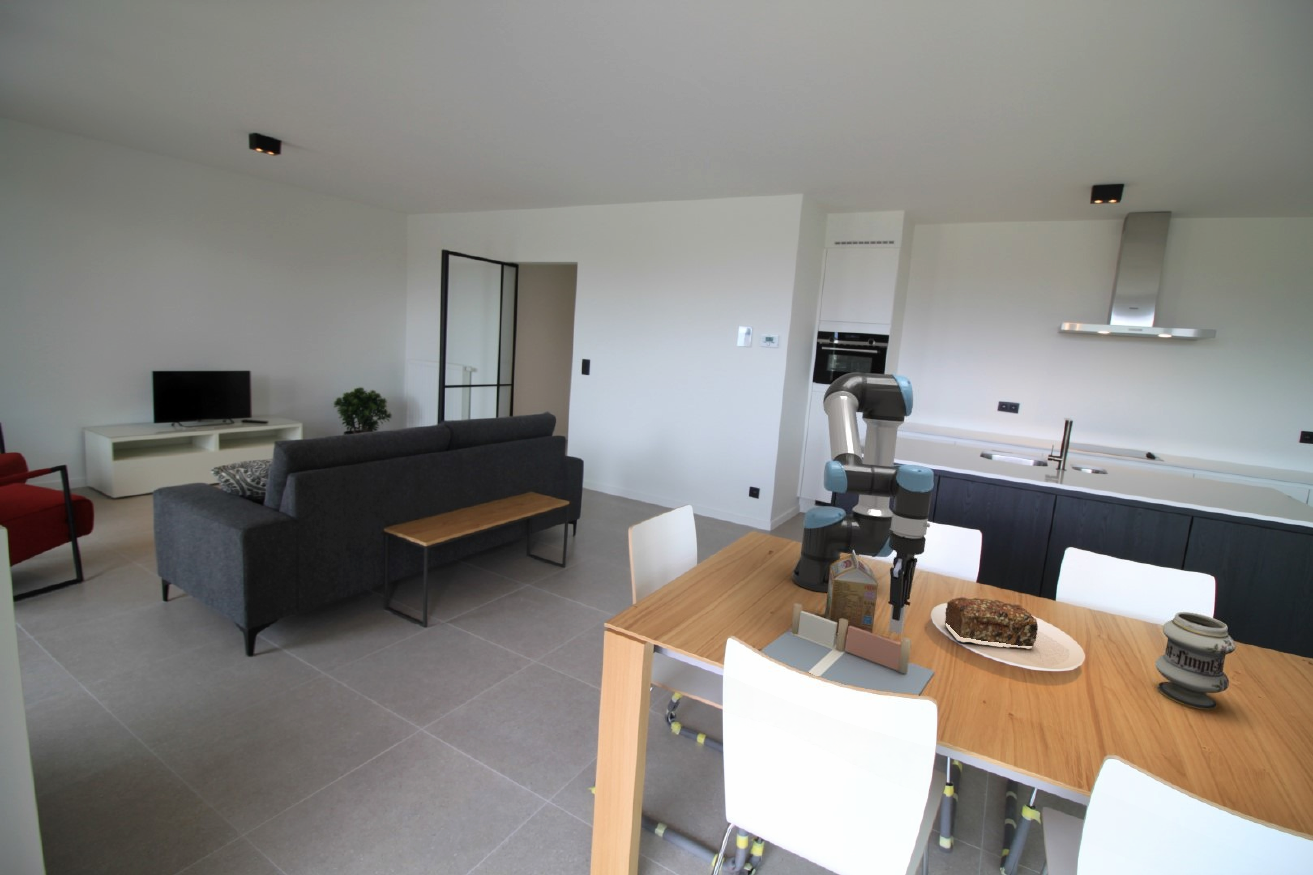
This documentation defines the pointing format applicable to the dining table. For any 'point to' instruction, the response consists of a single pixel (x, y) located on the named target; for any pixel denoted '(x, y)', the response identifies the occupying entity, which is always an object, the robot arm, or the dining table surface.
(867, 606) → the milk carton
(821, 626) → the fence fixed
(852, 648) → the fence panel
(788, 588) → the dining table surface
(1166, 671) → the apothecary jar
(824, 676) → the board
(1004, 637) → the bread
